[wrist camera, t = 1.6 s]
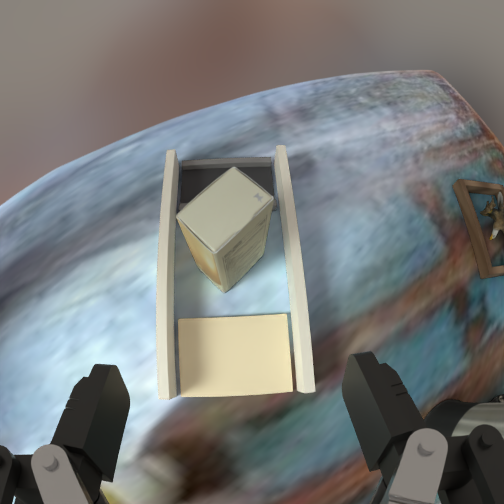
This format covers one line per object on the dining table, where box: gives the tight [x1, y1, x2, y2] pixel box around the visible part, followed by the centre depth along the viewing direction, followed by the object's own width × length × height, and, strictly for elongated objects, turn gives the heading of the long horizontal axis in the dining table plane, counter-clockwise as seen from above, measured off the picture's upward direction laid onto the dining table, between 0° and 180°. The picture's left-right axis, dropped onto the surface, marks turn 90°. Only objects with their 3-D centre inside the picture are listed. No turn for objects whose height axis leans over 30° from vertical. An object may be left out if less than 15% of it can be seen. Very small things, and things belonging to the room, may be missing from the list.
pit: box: [179, 157, 277, 212], centre depth 36 cm, size 11×7×1 cm, turn 93°
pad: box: [178, 314, 293, 397], centre depth 29 cm, size 11×8×1 cm
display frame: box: [453, 179, 504, 279], centre depth 36 cm, size 12×15×2 cm
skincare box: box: [176, 167, 274, 293], centre depth 27 cm, size 6×4×12 cm
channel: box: [156, 145, 315, 400], centre depth 31 cm, size 14×27×4 cm, turn 3°
